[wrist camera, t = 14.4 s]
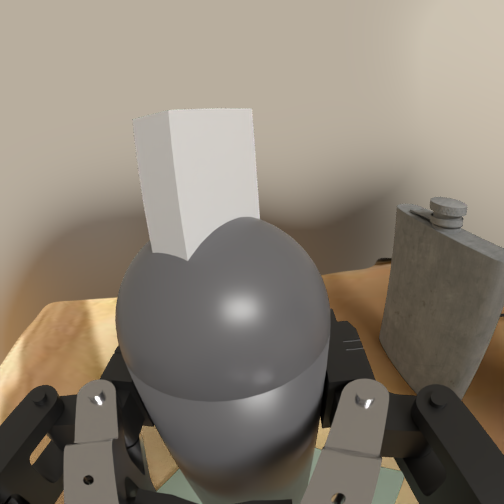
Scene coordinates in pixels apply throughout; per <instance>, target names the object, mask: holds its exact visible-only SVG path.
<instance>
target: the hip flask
mask: <svg viewBox="0 0 504 504" xmlns="http://www.w3.org/2000/svg"><path fill="white" fill-rule="evenodd" d="M430 209H431V210H433V211H434V212H433V211H430V210H427V209H424V208H423V207H420V206H418V205H413V204H400V205H398V206H397V212H396V226H395V237H394V246H393V255H392V263H391V270H390V278H389V285H388V291H387V297H386V303H385V309H384V315H383V320H382V325H381V330H380V335H379V340H380V342H381V344H382V346H383V348H384V350H385V352H386V354H387V355H388V357H389V359H390V360H391V362H392V363H393V365H394V366H395V368H396V369H397V370H398V372H399V373H400V374H401V376H402V377H403V378H404V380H405V381H406V382H407V383H408V384H409V386H410V387H411V388H412V389H413V390H414V391H415V392H416V394H418V393H419V391H420V390H421V389H422V388H424V387H425V386H428V385H432V384H439V385H444V386H446V387H448V388H450V389H451V390H453V391H454V392H455V394H456V395H457V396H458V397H459V398H460V400H462V398H463V396H464V394H465V393H466V391H467V389H468V387H469V385H470V383H471V381H472V379H473V377H474V375H475V373H476V371H477V369H478V367H479V365H480V363H481V361H482V359H483V356H484V354H485V352H486V350H487V347H488V345H489V343H490V340H491V338H492V335H493V333H494V331H495V328H496V325H497V323H498V320H499V317H500V315H501V312H502V309H503V306H504V248H502V247H500V246H497V245H495V244H493V243H491V242H489V241H486V240H484V239H482V238H480V237H478V236H476V235H474V234H472V233H470V232H468V231H466V230H464V229H461V227H462V226H463V217H462V216H465V215H466V212H467V205H466V204H465V203H463V202H461V201H458V200H455V199H451V198H443V197H434V198H431V200H430Z"/></svg>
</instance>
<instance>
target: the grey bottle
mask: <svg viewBox="0 0 504 504" xmlns="http://www.w3.org/2000/svg"><path fill="white" fill-rule="evenodd" d="M133 130H134V139H135V147H136V155H137V163H138V170H139V177H140V184H141V191H142V197H143V203H144V209H145V215H146V221H147V226H148V231H149V237H150V241H149V242H147V243H146V244H145V245H144V246H143V248H142V249H141V250H140V251H139V252H138V254H137V255H136V256H135V258H134V259H133V261H132V262H131V264H130V266H129V267H128V269H127V271H126V274H125V275H124V278H123V281H122V283H121V286H120V289H119V294H118V299H117V304H116V319H115V321H116V331H117V338H118V343H119V346H120V349H121V352H122V355H123V358H124V361H125V363H126V366H127V368H128V370H129V373H130V375H131V377H132V379H133V382H134V384H135V386H136V388H137V390H138V392H139V395H140V397H141V399H142V401H143V403H144V405H145V407H146V409H147V411H148V413H149V415H150V417H151V419H152V421H153V423H154V425H155V427H156V428H157V430H158V432H159V434H160V436H161V438H162V439H163V441H164V443H165V445H166V447H167V448H168V450H169V452H170V454H171V455H172V457H173V459H174V460H175V462H176V464H177V465H178V467H179V469H180V470H181V472H182V473H183V475H184V477H185V478H186V480H187V481H188V483H189V484H190V486H191V487H192V489H193V490H194V492H195V493H196V495H197V496H198V498H199V499H200V501H201V502H202V504H235V503H241V502H246V501H251V500H285V499H292V504H300V503H301V500H302V498H303V496H304V493H305V491H306V489H307V486H308V482H309V477H310V472H311V467H312V461H313V456H314V451H315V445H316V439H317V433H318V427H319V420H320V414H321V407H322V400H323V393H324V385H325V377H326V368H327V359H328V350H329V340H330V305H329V299H328V295H327V290H326V288H325V285H324V282H323V279H322V277H321V275H320V273H319V271H318V269H317V267H316V266H315V264H314V262H313V261H312V260H311V258H310V257H309V255H308V254H307V253H306V251H305V250H304V249H303V248H302V247H301V246H300V245H299V244H298V243H297V242H296V241H295V240H294V239H293V238H292V237H290V236H289V235H288V234H286V233H285V232H283V231H282V230H280V229H279V228H277V227H276V226H273V225H272V224H269V223H267V222H265V221H263V220H261V219H260V213H259V199H258V184H257V170H256V156H255V143H254V130H253V116H252V109H240V108H238V109H236V108H218V109H217V108H216V109H215V108H212V109H181V110H167V111H163V112H159V113H155V114H151V115H147V116H143V117H139V118H136V119H133Z"/></svg>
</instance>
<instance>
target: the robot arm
mask: <svg viewBox="0 0 504 504" xmlns="http://www.w3.org/2000/svg"><path fill="white" fill-rule="evenodd" d="M320 417H321V424H322V428H328V427H331V429H330V432H329V435H328V438H327V441H326V443H325V446H324V447H323V449H322V451H321V453H320V456H319V458H318V461H317V464H316V466H315V469H314V471H313V474H312V476H311V479H310V481H309V484H308V486H307V489H306V491H305V493H304V496H303V498H302V500H301V503H300V504H372V501H373V497H374V493H375V489H376V485H377V481H378V477H379V473H380V468H381V462H382V457H394V459H395V461H396V462H397V464H398V466H399V468H400V470H401V471H402V473H403V475H404V477H405V479H406V480H407V482H408V484H409V486H410V488H411V490H412V491H413V493H414V495H415V497H416V499H417V501H418V502H419V504H504V455H503V454H502V452H501V451H500V450H499V448H498V447H497V446H496V444H495V443H494V442H493V440H492V439H491V438H490V436H489V435H488V434H487V432H486V431H485V430H484V429H483V427H482V426H481V425H480V423H479V422H478V421H477V420H476V418H475V417H474V416H473V415H472V413H471V412H470V411H469V410H468V408H467V407H466V406H465V405H464V403H463V402H462V401H461V400H460V398H459V397H458V396H457V395H456V394H455V392H454V391H453V390H451V389H450V388H448V387H446V386H444V385H439V384H432V385H428V386H425V387H424V388H422V389H421V390H420V391H419V393H418V394H417V396H411V395H399V394H393V393H390V392H388V390H387V389H386V387H385V386H384V385H382V384H381V383H380V382H378V381H376V380H375V378H374V375H373V372H372V369H371V367H370V364H369V361H368V359H367V356H366V353H365V351H364V349H363V346H362V343H361V341H360V338H359V335H358V333H357V330H356V329H355V328H354V327H353V326H352V325H351V324H350V323H349V322H348V321H340V322H337V321H336V318H335V315H334V312H333V309H330V340H329V350H328V359H327V368H326V377H325V385H324V393H323V400H322V407H321V414H320ZM143 425H144V426H152V427H154V423H153V421H152V419H151V417H150V415H149V413H148V411H147V409H146V407H145V405H144V403H143V401H142V399H141V397H140V395H139V392H138V390H137V388H136V386H135V384H134V382H133V379H132V377H131V375H130V373H129V370H128V368H127V366H126V363H125V361H124V358H123V355H122V352H121V349H120V346H117V348H116V350H115V354H113V356H112V357H111V359H110V361H109V363H108V365H107V367H106V368H105V370H104V372H103V374H102V376H101V378H100V380H94V381H91V382H89V383H87V384H85V385H84V386H83V387H82V388H81V389H80V390H79V392H78V394H77V395H68V396H59V395H58V393H57V391H56V390H55V389H54V388H53V387H52V386H49V385H42V386H38V387H36V388H34V389H33V390H32V391H30V392H29V394H28V395H27V396H26V397H25V398H24V399H23V400H22V401H21V402H20V404H19V405H18V406H17V407H16V408H15V409H14V410H13V412H12V413H11V414H10V415H9V416H8V417H7V419H6V420H5V421H4V422H3V423H2V424H1V426H0V504H55V502H56V501H57V499H58V498H59V496H60V494H61V493H62V491H63V490H64V504H198V503H195V502H192V501H189V500H186V499H183V498H180V497H178V496H175V495H172V494H165V493H159V492H156V490H155V488H154V486H153V484H152V482H151V479H150V474H149V470H148V465H147V459H146V454H145V448H144V442H143V437H142V435H141V433H140V432H141V429H142V426H143ZM46 434H47V436H48V437H49V438H50V439H51V441H50V443H49V444H48V445H47V447H46V448H45V449H44V451H43V452H42V453H41V455H40V456H39V457H38V459H37V460H36V462H35V463H34V464H33V465H31V464H30V455H31V453H32V452H33V451H34V449H35V448H36V447H37V445H38V444H39V443H40V442H41V440H42V439H43V438H44V436H45V435H46ZM381 456H382V457H381ZM235 504H292V499H285V500H251V501H246V502H241V503H235Z"/></svg>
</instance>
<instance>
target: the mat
mask: <svg viewBox="0 0 504 504" xmlns="http://www.w3.org/2000/svg"><path fill="white" fill-rule="evenodd" d="M321 451H322V450H320V449H317V448H315V451H314V456H313V461H312V467H311V472H310V477H309V481H310V479H311V476H312V474H313V471H314V469H315V466H316V464H317V461H318V458H319V456H320V453H321ZM403 479H404V475H403V473H402V471H398V470H393V469H388V468H384V467H381V468H380V473H379V477H378V481H377V485H376V489H375V493H374V497H373V501H372V504H395V502H396V499H397V496H398V494H399V491H400V488H401V485H402V482H403ZM308 484H309V482H308ZM156 492H159V493H165V494H172V495H175V496H178V497H180V498H183V499H186V500H189V501H192V502H195V503H198V504H202V502H201V501H200V499H199V498H198V496H197V495H196V493H195V492H194V490H193V489H192V487H191V486H190V484H189V483H188V481H187V480H186V478H185V477H184V475H183V473H182V472H181V470H180V469H178V470H177V471H176V473H175V474H174V475H173V476H172V477H171V478H170V479H169V480H168V481H167V482H166V483H164V484H163V485H162V486H161V487H160V488H159V489H158V490H157V491H156Z"/></svg>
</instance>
